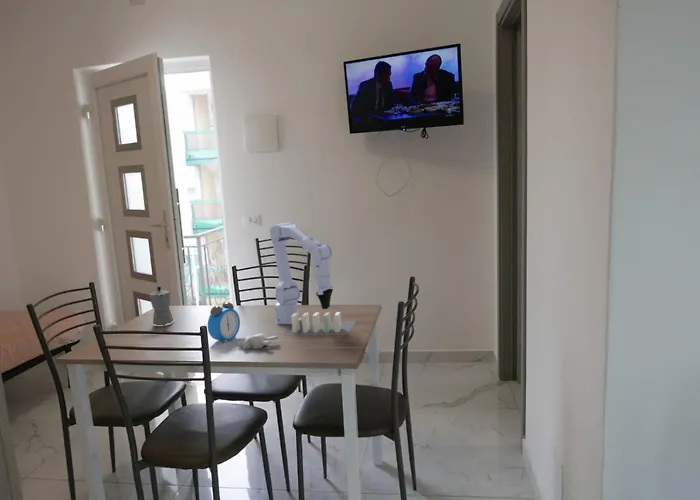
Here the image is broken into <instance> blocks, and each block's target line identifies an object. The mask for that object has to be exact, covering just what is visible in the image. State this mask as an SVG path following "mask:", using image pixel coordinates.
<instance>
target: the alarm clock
mask: <svg viewBox="0 0 700 500" xmlns="http://www.w3.org/2000/svg"><path fill="white" fill-rule="evenodd" d="M209 314H210V315H209V317H208V320H207V331H208V334H209V335H210V337H211V338H212V339H214V340H216V341H223V343H224V342H229V340H230V341H232V340H233V339H235V337H236V336H237V335H238V333H239V330H240V328H241V327H240V326H241V320H240V315H239V313H238V312H237V310H236V309H235V308H234V304H233V303H232V302H230V301H227V302H223V303H222V304H221V306H220V305H215V306H213V307H212V308H211V309H210V311H209Z"/></svg>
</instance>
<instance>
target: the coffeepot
mask: <svg viewBox="0 0 700 500" xmlns="http://www.w3.org/2000/svg"><path fill="white" fill-rule="evenodd" d="M148 296H149V301H150V304H151V306H152V308H153V311H154V312H153V318H152V319H153V320H152V325H153V324H156V325H165V324H167V323H171V322H172V321H173V320H174V318H173V314H172V312H171V308H170V305H171V291H170V290H164V289H161V286H157V287H156V289H155V291H152V292H150V293H149V294H148Z"/></svg>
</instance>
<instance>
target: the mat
mask: <svg viewBox="0 0 700 500" xmlns="http://www.w3.org/2000/svg"><path fill="white" fill-rule="evenodd" d="M356 322H357V320H341V326H342V329H341V330H340V332H335V323H334V320H331V330H330V331H329V332H324V320H323V321H321V320H320V328H321V329H320V330H319V331H318V332H314V330H313V321H310V330H309V331H308V332H307V333H303V326H302V321H299V325H300V329H299V330H298V331H297V332H296V333H293V331H292V328H291V329H290V330H288V331H287V333H286V334H284V336H285V337H286V336H348V334H349V333H350V332H351V331H352V329H353V327H354V326H355V324H356Z"/></svg>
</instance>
